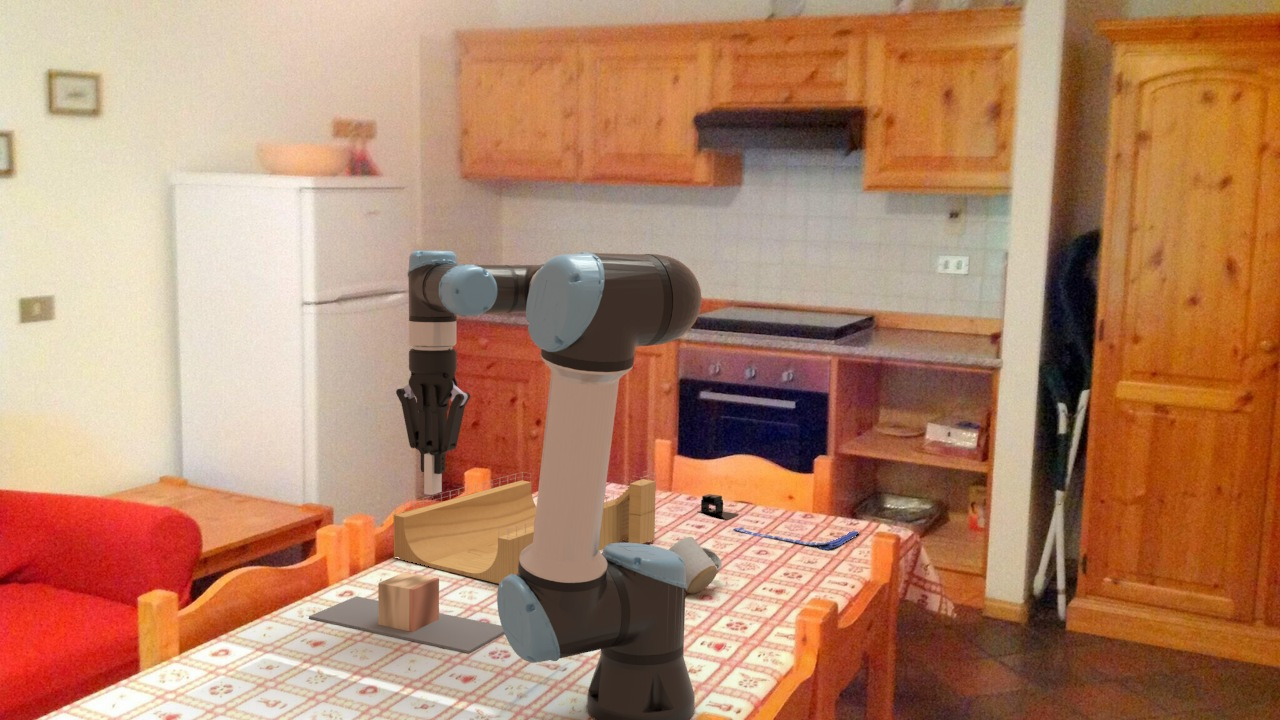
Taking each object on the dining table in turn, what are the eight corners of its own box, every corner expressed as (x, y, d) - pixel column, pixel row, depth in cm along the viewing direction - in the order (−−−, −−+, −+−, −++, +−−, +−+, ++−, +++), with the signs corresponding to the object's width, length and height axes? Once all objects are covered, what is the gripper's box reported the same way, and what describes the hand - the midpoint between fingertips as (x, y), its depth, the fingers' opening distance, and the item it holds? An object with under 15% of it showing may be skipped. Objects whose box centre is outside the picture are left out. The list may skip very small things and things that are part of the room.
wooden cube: (378, 624, 187) (413, 631, 184) (378, 583, 186) (413, 589, 183) (404, 612, 193) (438, 619, 190) (404, 572, 193) (439, 578, 190)
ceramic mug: (687, 603, 208) (692, 579, 202) (658, 572, 212) (663, 548, 206) (730, 574, 213) (736, 551, 207) (702, 545, 217) (707, 520, 212)
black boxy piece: (681, 515, 264) (681, 495, 264) (698, 510, 270) (698, 490, 270) (726, 521, 257) (726, 500, 257) (743, 515, 263) (743, 495, 262)
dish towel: (829, 558, 235) (830, 544, 235) (730, 537, 249) (730, 525, 248) (863, 540, 249) (864, 528, 249) (767, 522, 263) (768, 510, 262)
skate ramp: (521, 521, 258) (522, 451, 256) (654, 548, 239) (656, 473, 237) (393, 562, 224) (393, 482, 222) (535, 597, 205) (536, 510, 203)
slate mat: (469, 653, 176) (469, 650, 176) (309, 618, 190) (308, 616, 190) (510, 629, 187) (510, 627, 187) (356, 598, 201) (356, 596, 201)
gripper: (480, 348, 182) (479, 492, 185) (413, 343, 188) (413, 484, 190) (453, 351, 176) (453, 502, 178) (384, 347, 181) (385, 492, 184)
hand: (433, 492), depth 184 cm, fingers closed
